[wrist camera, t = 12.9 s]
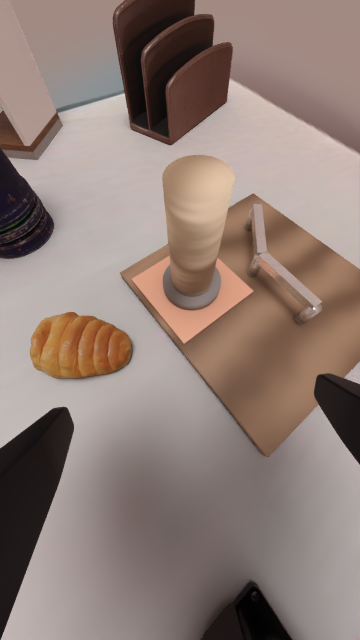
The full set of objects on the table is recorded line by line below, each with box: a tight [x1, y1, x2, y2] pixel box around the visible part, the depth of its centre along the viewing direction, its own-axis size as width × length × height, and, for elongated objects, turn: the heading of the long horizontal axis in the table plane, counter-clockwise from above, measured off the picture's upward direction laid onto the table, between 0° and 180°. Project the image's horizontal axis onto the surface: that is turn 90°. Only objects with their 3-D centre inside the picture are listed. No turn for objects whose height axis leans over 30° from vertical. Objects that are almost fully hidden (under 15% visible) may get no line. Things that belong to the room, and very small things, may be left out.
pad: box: [132, 256, 254, 345], centre depth 24 cm, size 10×10×1 cm
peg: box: [162, 155, 235, 310], centre depth 18 cm, size 6×6×12 cm
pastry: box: [30, 312, 132, 378], centre depth 21 cm, size 9×7×4 cm
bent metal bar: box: [245, 204, 322, 325], centre depth 23 cm, size 15×4×4 cm, turn 15°
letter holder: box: [113, 0, 233, 145], centre depth 35 cm, size 10×20×14 cm, turn 144°
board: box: [120, 194, 360, 457], centre depth 24 cm, size 24×23×1 cm
